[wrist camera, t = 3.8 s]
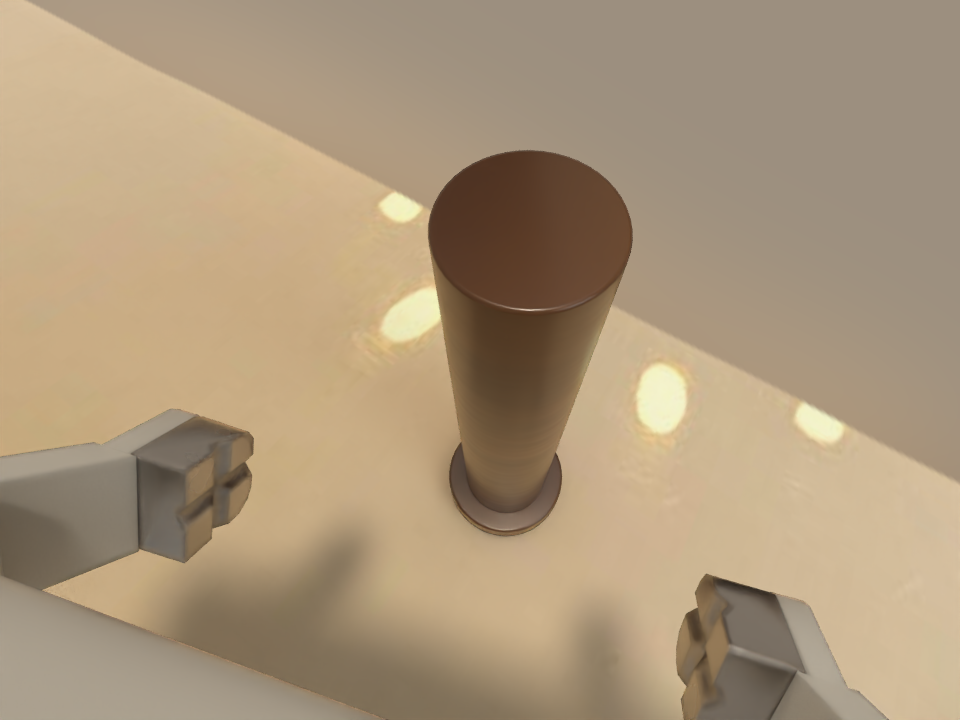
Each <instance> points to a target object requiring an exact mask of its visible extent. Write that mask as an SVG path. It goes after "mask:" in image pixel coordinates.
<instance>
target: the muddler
mask: <svg viewBox="0 0 960 720" xmlns="http://www.w3.org/2000/svg"><path fill="white" fill-rule="evenodd" d="M632 238H633V237H632V225H631V219H630V216H629V213H628V210H627V208H626V205H625V203H624V201H623V200H622V197H621V196H620V195H619V194H618V192H617V191H616V189H615V188H614V187H613V186H612V185H611V183H610V182H609V181H608V180H607V179H606V178H604V177H603V176H602V175H601V174H600V173H598V172H597V171H595V170H594V169H592V168H591V167H589V166H587V165H585V164H584V163H582V162H580V161H577V160H575V159H572V158H570V157H567V156H563V155H560V154H556V153H551V152H545V151H533V150H526V151H525V150H524V151H512V152H505V153H501V154H496V155H493V156H490V157H487V158H484V159H482V160H480V161H477V162H475V163H473V164H471V165H470V166H468V167H466V168H465V169H463V170H462V171H461V172H459V173H458V174H457V175H455V176H454V177H453V178H452V179H451V180H450V181H449V182H448V183H447V184H446V186H445V187H444V188H443V190H442V191H441V192H440V194H439V196H438V198H437V199H436V201H435V203H434V205H433V208H432V211H431V214H430V218H429V223H428V240H429V247H430V254H431V260H432V266H433V272H434V278H435V284H436V290H437V296H438V302H439V309H440V315H441V321H442V327H443V333H444V339H445V345H446V351H447V358H448V364H449V370H450V376H451V382H452V388H453V394H454V400H455V406H456V413H457V419H458V425H459V431H460V437H461V443H460V444H459V445H458V447H457V449H456V451H455V453H454V455H453V457H452V461H451V465H450V471H449V480H450V487H451V491H452V495H453V498H454V500H455V503H456V505H457V507H458V509H459V510H460V512H461V513H462V514H463V516H464V517H465V518H466V519H467V520H468V521H469V522H470V523H471V524H473V525H474V526H475V527H477V528H479V529H481V530H483V531H485V532H488V533H491V534H495V535H502V536H511V535H517V534H521V533H524V532H527V531H529V530H531V529H533V528H535V527H536V526H538V525H539V524H540V523H541V522H542V521H544V520H545V518H546V517H547V516H548V515H549V514H550V512H551V511H552V509H553V507H554V505H555V503H556V501H557V499H558V497H559V494H560V490H561V485H562V471H561V465H560V461H559V459H558V456H557V454H556V450H557V447H558V444H559V442H560V439H561V436H562V434H563V431H564V429H565V426H566V423H567V421H568V418H569V415H570V413H571V410H572V407H573V405H574V402H575V399H576V397H577V394H578V392H579V389H580V386H581V384H582V381H583V378H584V376H585V373H586V370H587V368H588V365H589V362H590V360H591V357H592V355H593V352H594V349H595V347H596V344H597V341H598V339H599V336H600V333H601V331H602V328H603V325H604V323H605V320H606V317H607V315H608V312H609V310H610V307H611V304H612V302H613V299H614V296H615V294H616V291H617V288H618V286H619V283H620V280H621V278H622V275H623V273H624V270H625V267H626V265H627V262H628V258H629V256H630V253H631V248H632V241H633V240H632Z"/></svg>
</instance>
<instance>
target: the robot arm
mask: <svg viewBox="0 0 960 720" xmlns="http://www.w3.org/2000/svg"><path fill="white" fill-rule="evenodd" d="M253 443H254V438H253V437H252V435H251V434H250V433H249V432H248V431H245V430H242V429H239V428H236V427H233V426H230V425H227V424H224V423H221V422H218V421H215V420H212V419H209V418H206V417H201V416H199V415H197V414H193V413H190V412H187V411H183V410H180V409H169V410H167V411H165V412H163V413H161V414H159V415H157V416H155V417H154V418H152V419H150V420H148V421H146V422H144V423H142V424H140V425H138V426H136V427H134V428H133V429H131V430H129V431H127V432H125V433H123V434H121V435H119V436H117V437H115V438H113V439H112V440H110V441H108V442H106V443H104V444H102V445H100V444H97V443H94V442H93V443H86V444H80V445H73V446H67V447H60V448H54V449H47V450H41V451H34V452H28V453H22V454H15V455H9V456H2V457H0V720H387V719H384V718H381V717H379V716H376V715H373V714H371V713H368V712H365V711H363V710H360V709H357V708H355V707H352V706H349V705H347V704H344V703H341V702H338V701H336V700H333V699H330V698H328V697H325V696H322V695H320V694H317V693H314V692H312V691H309V690H306V689H304V688H301V687H298V686H296V685H293V684H290V683H288V682H285V681H282V680H280V679H277V678H274V677H272V676H269V675H266V674H264V673H261V672H258V671H256V670H253V669H250V668H248V667H245V666H242V665H239V664H237V663H234V662H231V661H229V660H226V659H223V658H221V657H218V656H215V655H213V654H210V653H207V652H205V651H202V650H199V649H197V648H194V647H191V646H189V645H186V644H183V643H181V642H178V641H175V640H173V639H170V638H167V637H165V636H162V635H159V634H157V633H154V632H151V631H149V630H146V629H143V628H141V627H138V626H135V625H133V624H130V623H127V622H125V621H122V620H119V619H117V618H114V617H111V616H109V615H106V614H103V613H101V612H98V611H95V610H93V609H90V608H87V607H85V606H82V605H79V604H77V603H74V602H71V601H69V600H66V599H63V598H61V597H58V596H55V595H53V594H50V593H47V592H45V591H42V590H43V589H46V588H48V587H51V586H53V585H56V584H58V583H61V582H63V581H66V580H68V579H71V578H73V577H76V576H78V575H81V574H83V573H86V572H88V571H91V570H93V569H96V568H98V567H101V566H103V565H106V564H108V563H111V562H113V561H116V560H118V559H121V558H123V557H126V556H128V555H131V554H133V553H136V552H138V551H139V549H141V550H144V551H147V552H151V553H154V554H157V555H160V556H163V557H166V558H169V559H173V560H176V561H179V562H182V563H185V562H187V561H188V560H189V559H190V558H191V557H192V556H193V555H194V554H195V553H197V552H198V551H199V550H200V549H201V548H202V547H203V546H204V545H205V544H207V543H208V542H209V541H210V540H211V539H212V528H216V527H219V526H222V525H225V524H229V523H230V522H231V521H232V520H233V519H234V518H235V517H236V516H237V515H238V514H239V513H240V511H241V509H242V508H243V506H244V504H245V503H246V501H247V499H248V496H249V492H250V489H251V482H252V474H251V472H250V470H249V468H248V466H247V465H246V463H245V462H246V461H247V460H248V459H249V458H250V457H251V456H252V455H253ZM695 595H696V600H697V606H698V608H696V609H694V610H692V611H690V612H688V613H687V614H686V615H685V618H684V620H683V623H682V625H681V628H680V631H679V636H678V641H677V646H676V664H677V673H678V676H679V677H680V678H681V680H682V681H683V682H684V684H685V685H686V686H687V687H686V689H685V691H684V694H683V696H682V698H681V704H682V711H683V718H684V720H889V719H888V718H887V717H885V716H884V715H883V714H882V713H881V712H880V711H879V710H878V709H877V708H876V707H875V706H874V705H873V704H872V703H871V702H870V701H869V700H867V699H866V698H865V697H864V696H863V695H862V694H861V693H860V692H859V691H856V690H853V689H850V688H848V687H847V685H846V683H845V681H844V678H843V676H842V674H841V672H840V670H839V668H838V666H837V663H836V661H835V659H834V657H833V655H832V653H831V650H830V648H829V646H828V644H827V642H826V640H825V638H824V635H823V633H822V631H821V629H820V627H819V625H818V623H817V620H816V618H815V616H814V614H813V612H812V610H811V608H810V606H809V605H808V604H806V603H805V602H804V601H802V600H798V599H794V598H791V597H787V596H784V595H780V594H776V593H773V592H767V591H763V590H760V589H756V588H753V587H750V586H746V585H743V584H739V583H736V582H733V581H729V580H726V579H722V578H719V577H716V576H712V575H709V574H706V575H705V576H704V577H703V578H702V579H701V581H700V583H699V585H698V587H697V590H696V592H695Z"/></svg>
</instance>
